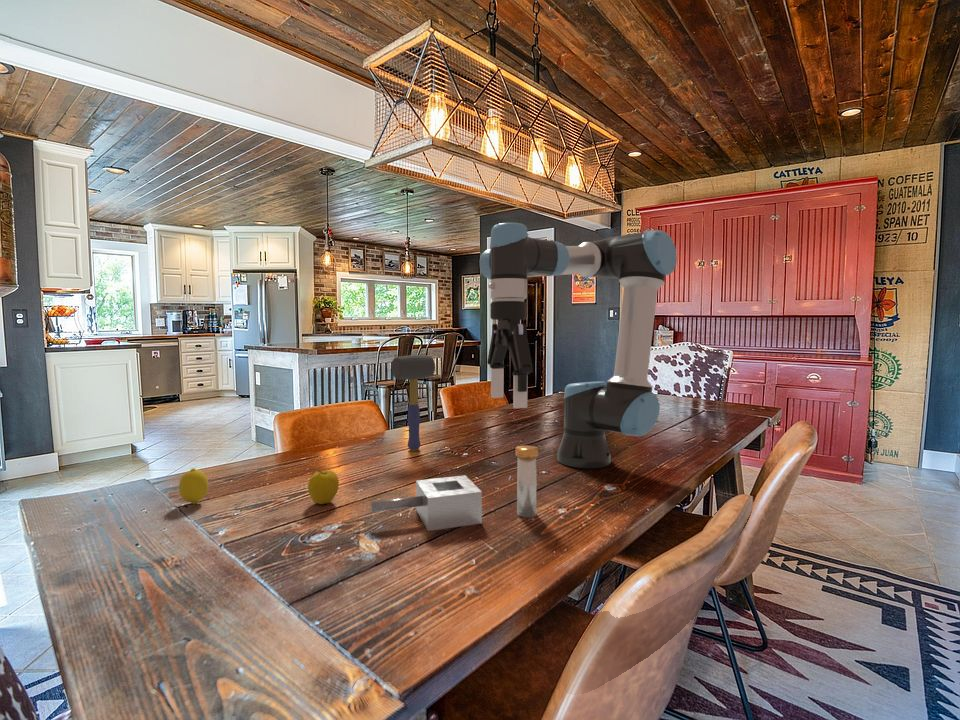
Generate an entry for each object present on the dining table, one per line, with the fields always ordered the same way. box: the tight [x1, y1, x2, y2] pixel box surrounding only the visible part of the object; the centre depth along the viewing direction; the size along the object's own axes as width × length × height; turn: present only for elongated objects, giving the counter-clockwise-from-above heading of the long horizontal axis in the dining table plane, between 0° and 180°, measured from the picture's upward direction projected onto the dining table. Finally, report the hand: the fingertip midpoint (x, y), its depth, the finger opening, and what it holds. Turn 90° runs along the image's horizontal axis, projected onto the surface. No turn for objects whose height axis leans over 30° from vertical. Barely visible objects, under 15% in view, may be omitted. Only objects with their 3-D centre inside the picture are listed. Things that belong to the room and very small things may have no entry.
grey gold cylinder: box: [515, 445, 540, 519], centre depth 101 cm, size 5×5×14 cm
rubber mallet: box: [391, 354, 436, 452], centre depth 151 cm, size 12×8×30 cm, turn 126°
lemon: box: [178, 468, 209, 505], centre depth 107 cm, size 6×6×8 cm
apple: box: [307, 470, 340, 505], centre depth 107 cm, size 6×6×8 cm
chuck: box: [370, 475, 483, 532], centre depth 98 cm, size 21×11×6 cm, turn 109°
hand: (508, 402), depth 102 cm, fingers open, 13 cm apart
